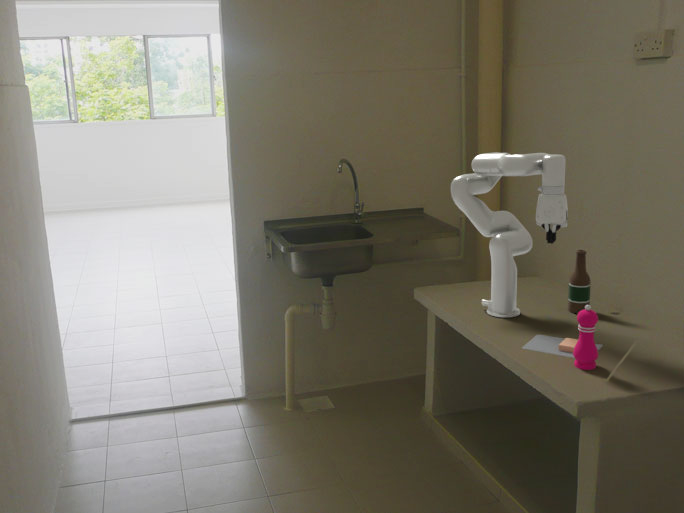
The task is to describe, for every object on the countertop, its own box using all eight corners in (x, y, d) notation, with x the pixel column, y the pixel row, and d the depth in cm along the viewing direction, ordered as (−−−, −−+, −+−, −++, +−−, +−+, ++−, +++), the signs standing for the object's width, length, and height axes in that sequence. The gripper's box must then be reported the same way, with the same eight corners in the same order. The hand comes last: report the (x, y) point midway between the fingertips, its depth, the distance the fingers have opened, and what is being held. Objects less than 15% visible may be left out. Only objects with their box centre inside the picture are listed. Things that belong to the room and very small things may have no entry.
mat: (521, 349, 228) (521, 348, 227) (537, 335, 240) (537, 334, 240) (589, 362, 215) (589, 360, 215) (602, 346, 228) (602, 345, 228)
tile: (558, 344, 224) (587, 349, 219) (566, 337, 230) (594, 342, 225) (558, 350, 224) (586, 355, 219) (566, 343, 231) (593, 347, 226)
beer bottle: (589, 309, 269) (592, 248, 263) (589, 315, 261) (592, 253, 256) (568, 307, 271) (570, 248, 266) (567, 313, 264) (570, 252, 259)
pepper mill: (568, 363, 215) (571, 302, 210) (591, 362, 215) (594, 300, 211) (578, 372, 208) (581, 309, 203) (601, 371, 208) (605, 307, 204)
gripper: (528, 191, 240) (526, 242, 244) (571, 193, 231) (569, 246, 235) (535, 188, 246) (533, 239, 250) (578, 190, 237) (575, 242, 241)
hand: (551, 242), depth 242 cm, fingers closed
